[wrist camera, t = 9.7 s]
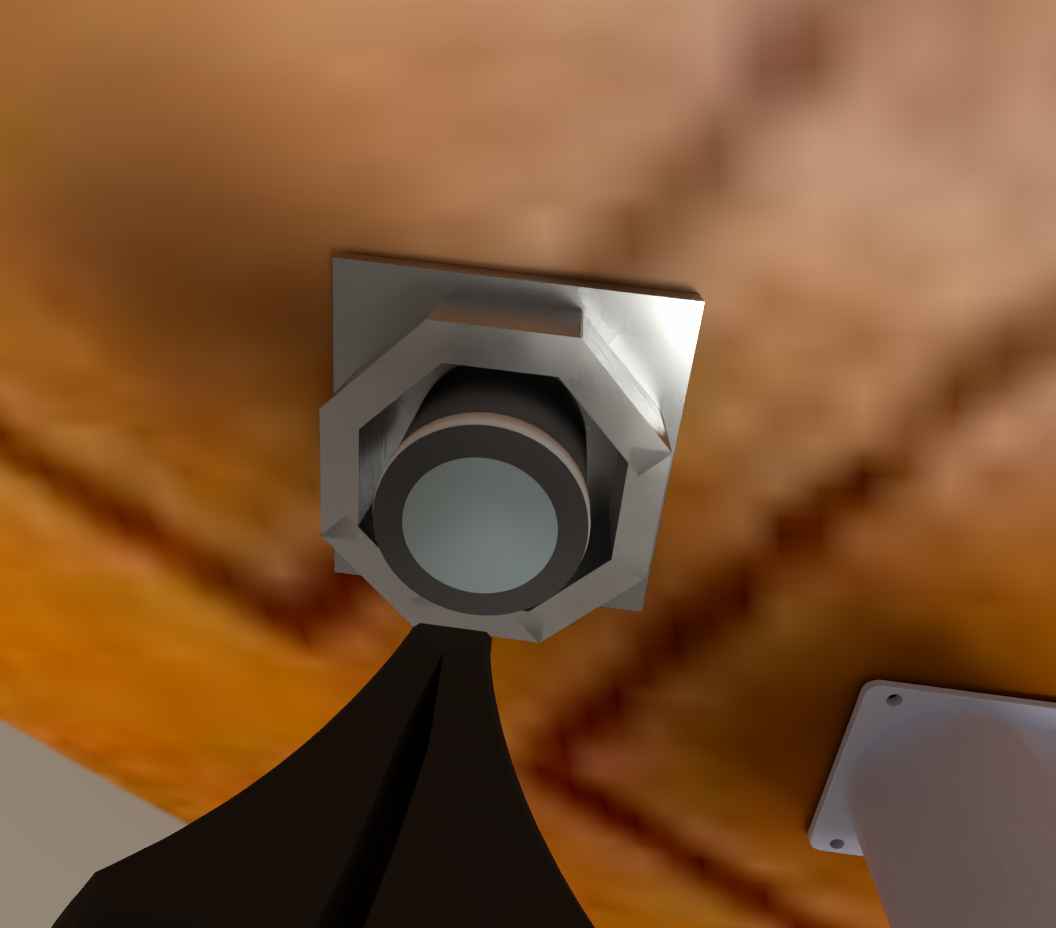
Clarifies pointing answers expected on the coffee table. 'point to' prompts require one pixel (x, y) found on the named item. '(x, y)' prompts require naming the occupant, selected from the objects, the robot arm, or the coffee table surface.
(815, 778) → the coffee table surface
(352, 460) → the mount
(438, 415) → the lens
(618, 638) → the coffee table surface
